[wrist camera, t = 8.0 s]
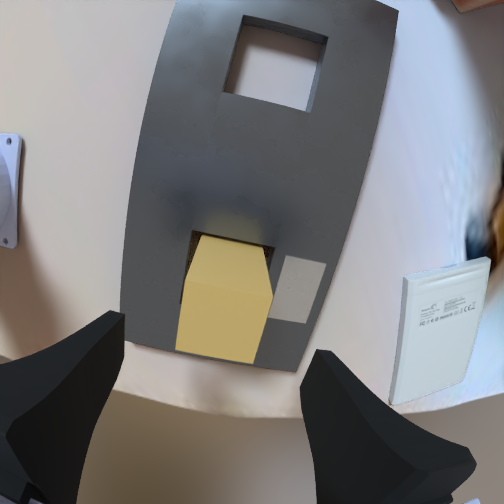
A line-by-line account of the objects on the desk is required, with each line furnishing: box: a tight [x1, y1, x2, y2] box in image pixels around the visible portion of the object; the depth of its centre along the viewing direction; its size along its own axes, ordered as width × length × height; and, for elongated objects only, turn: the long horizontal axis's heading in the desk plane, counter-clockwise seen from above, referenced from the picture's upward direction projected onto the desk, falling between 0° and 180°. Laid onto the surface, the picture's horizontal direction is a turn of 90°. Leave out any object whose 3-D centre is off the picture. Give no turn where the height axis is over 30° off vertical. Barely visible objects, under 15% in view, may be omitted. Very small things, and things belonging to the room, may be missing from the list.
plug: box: [175, 232, 273, 364], centre depth 16 cm, size 3×3×7 cm
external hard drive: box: [389, 257, 491, 405], centre depth 22 cm, size 2×8×12 cm
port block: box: [120, 0, 399, 372], centre depth 16 cm, size 12×24×2 cm, turn 167°
